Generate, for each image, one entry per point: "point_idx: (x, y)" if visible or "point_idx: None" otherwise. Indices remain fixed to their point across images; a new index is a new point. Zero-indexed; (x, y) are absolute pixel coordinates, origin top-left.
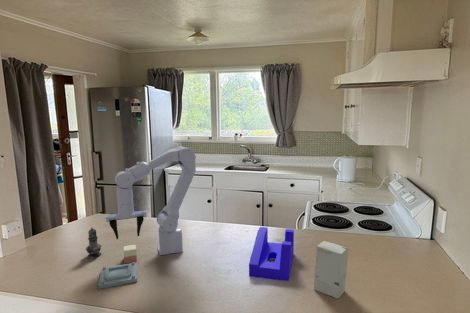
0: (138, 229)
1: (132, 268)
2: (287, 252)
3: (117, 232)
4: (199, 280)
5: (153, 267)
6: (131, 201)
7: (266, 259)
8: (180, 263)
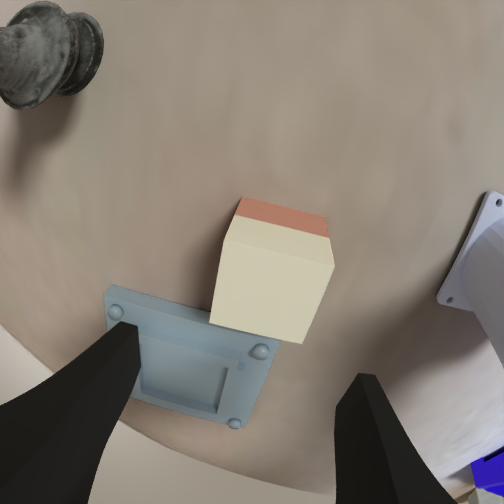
0: (346, 483)
1: (246, 377)
2: None
3: (109, 417)
4: None
5: (343, 377)
6: None
7: None
8: (438, 390)
